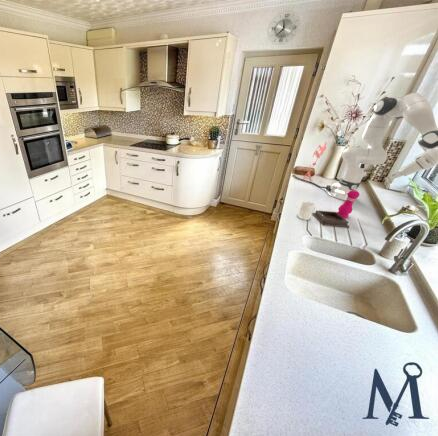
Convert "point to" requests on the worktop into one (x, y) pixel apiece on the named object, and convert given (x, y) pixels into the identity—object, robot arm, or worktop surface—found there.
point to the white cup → (306, 210)
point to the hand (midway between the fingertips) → (391, 177)
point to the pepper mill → (348, 203)
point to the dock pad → (330, 218)
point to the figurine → (317, 158)
